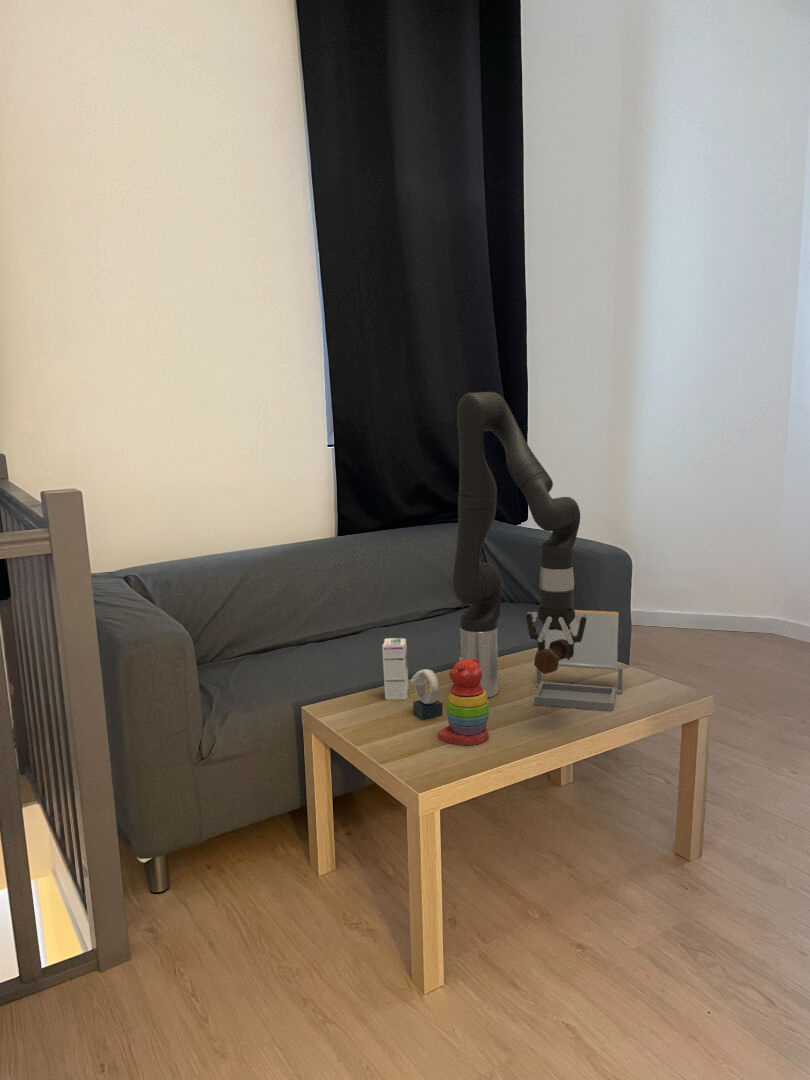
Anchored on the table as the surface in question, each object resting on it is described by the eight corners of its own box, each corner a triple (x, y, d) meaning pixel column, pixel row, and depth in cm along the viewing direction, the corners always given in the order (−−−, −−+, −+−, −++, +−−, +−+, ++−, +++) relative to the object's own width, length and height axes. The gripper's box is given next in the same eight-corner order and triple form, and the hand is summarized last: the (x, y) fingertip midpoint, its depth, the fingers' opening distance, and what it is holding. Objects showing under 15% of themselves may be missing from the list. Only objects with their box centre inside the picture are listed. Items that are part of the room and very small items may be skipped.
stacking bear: (467, 723, 192) (465, 649, 189) (500, 735, 185) (499, 659, 181) (433, 737, 185) (431, 661, 182) (467, 750, 178) (465, 671, 174)
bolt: (572, 659, 195) (554, 677, 182) (552, 653, 198) (532, 671, 184) (577, 636, 194) (558, 652, 181) (556, 630, 196) (536, 646, 183)
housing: (528, 704, 202) (528, 680, 201) (537, 683, 216) (537, 661, 215) (619, 711, 196) (619, 687, 195) (622, 689, 209) (622, 667, 208)
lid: (544, 608, 214) (544, 608, 216) (542, 664, 213) (543, 664, 215) (618, 612, 209) (618, 612, 210) (616, 670, 208) (616, 669, 209)
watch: (429, 706, 203) (428, 663, 200) (446, 717, 196) (445, 673, 194) (409, 711, 200) (407, 668, 198) (425, 722, 193) (424, 678, 191)
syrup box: (407, 700, 207) (405, 644, 205) (384, 700, 208) (382, 644, 205) (408, 691, 213) (407, 637, 210) (386, 691, 213) (384, 637, 211)
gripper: (522, 588, 185) (522, 660, 189) (587, 591, 181) (586, 665, 184) (527, 580, 192) (527, 650, 196) (590, 583, 188) (589, 654, 191)
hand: (555, 657), depth 190 cm, fingers closed on bolt, 5 cm apart
